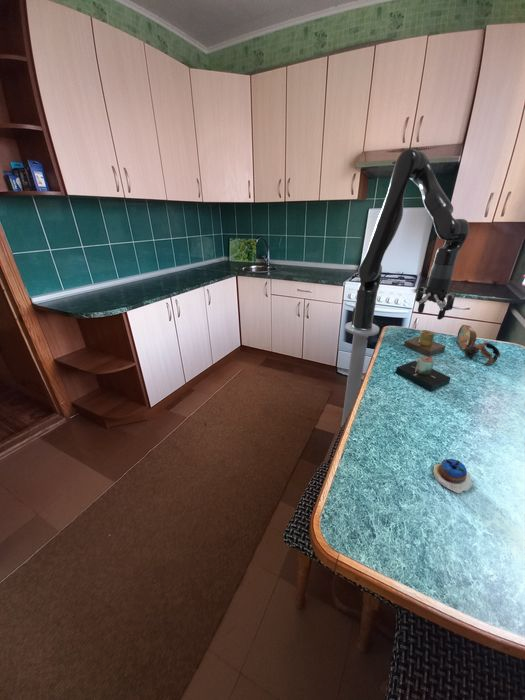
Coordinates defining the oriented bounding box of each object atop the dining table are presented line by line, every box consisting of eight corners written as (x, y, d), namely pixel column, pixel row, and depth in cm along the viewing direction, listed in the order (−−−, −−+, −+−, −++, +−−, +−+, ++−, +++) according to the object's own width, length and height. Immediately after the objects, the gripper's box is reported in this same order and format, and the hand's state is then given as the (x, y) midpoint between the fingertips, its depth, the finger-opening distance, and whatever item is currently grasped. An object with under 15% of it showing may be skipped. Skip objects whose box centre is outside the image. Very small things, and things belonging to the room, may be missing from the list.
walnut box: (403, 345, 128) (405, 340, 126) (418, 341, 132) (420, 335, 131) (428, 356, 118) (430, 351, 117) (444, 351, 122) (445, 345, 121)
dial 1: (424, 339, 127) (426, 328, 124) (434, 344, 123) (437, 332, 120) (415, 342, 125) (418, 330, 123) (425, 346, 121) (428, 334, 118)
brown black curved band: (478, 353, 121) (495, 341, 114) (488, 372, 115) (507, 361, 109) (453, 348, 118) (470, 336, 112) (463, 367, 113) (480, 355, 106)
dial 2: (424, 377, 100) (428, 363, 97) (412, 370, 104) (415, 357, 101) (434, 373, 102) (437, 360, 100) (421, 367, 106) (424, 354, 103)
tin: (455, 338, 133) (460, 321, 129) (463, 339, 132) (469, 322, 128) (463, 353, 120) (470, 334, 117) (472, 354, 119) (479, 335, 116)
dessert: (439, 455, 71) (460, 449, 66) (460, 479, 69) (482, 475, 65) (424, 474, 67) (445, 470, 62) (445, 501, 65) (469, 498, 60)
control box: (395, 372, 107) (396, 366, 106) (413, 366, 112) (415, 360, 110) (430, 391, 96) (432, 385, 95) (449, 383, 100) (451, 377, 99)
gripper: (465, 278, 107) (452, 319, 114) (429, 271, 118) (420, 309, 125) (452, 281, 104) (440, 323, 111) (417, 273, 115) (408, 312, 122)
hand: (429, 315), depth 118 cm, fingers open, 8 cm apart
